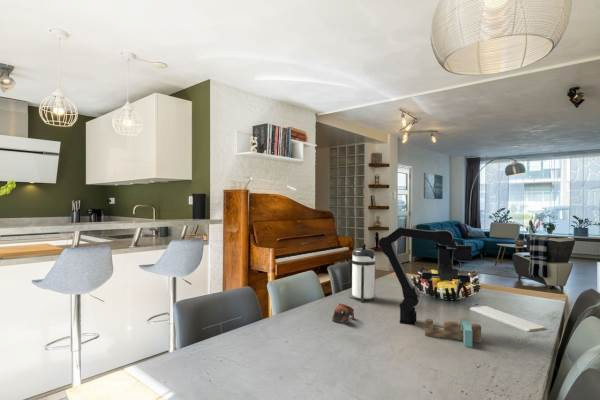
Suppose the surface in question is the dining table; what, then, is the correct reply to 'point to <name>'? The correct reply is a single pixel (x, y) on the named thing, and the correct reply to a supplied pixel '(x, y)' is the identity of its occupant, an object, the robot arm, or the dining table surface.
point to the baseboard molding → (507, 318)
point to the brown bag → (342, 316)
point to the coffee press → (362, 273)
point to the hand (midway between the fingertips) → (444, 296)
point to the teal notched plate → (466, 332)
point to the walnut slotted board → (451, 330)
